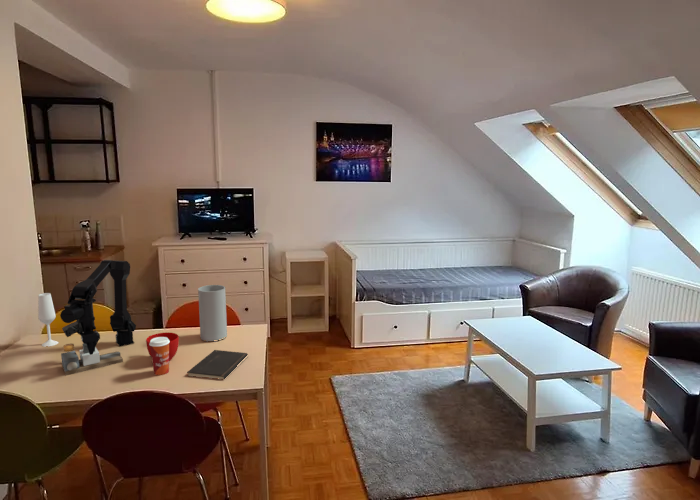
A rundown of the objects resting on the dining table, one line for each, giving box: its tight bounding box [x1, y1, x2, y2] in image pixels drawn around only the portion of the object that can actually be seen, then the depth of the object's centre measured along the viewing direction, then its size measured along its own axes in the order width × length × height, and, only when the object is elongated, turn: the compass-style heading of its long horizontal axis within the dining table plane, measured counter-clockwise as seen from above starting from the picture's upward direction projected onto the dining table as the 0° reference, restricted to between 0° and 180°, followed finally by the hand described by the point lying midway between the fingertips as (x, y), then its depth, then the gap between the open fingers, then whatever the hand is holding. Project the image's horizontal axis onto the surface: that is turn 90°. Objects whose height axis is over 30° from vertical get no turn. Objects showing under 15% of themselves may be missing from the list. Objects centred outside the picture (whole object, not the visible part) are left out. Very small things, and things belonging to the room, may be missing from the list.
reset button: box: [62, 343, 75, 353], centre depth 185 cm, size 4×4×2 cm
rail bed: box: [60, 350, 124, 376], centre depth 191 cm, size 21×10×6 cm, turn 129°
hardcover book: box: [186, 349, 249, 380], centre depth 192 cm, size 16×23×2 cm
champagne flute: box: [37, 292, 59, 348], centre depth 211 cm, size 7×7×24 cm
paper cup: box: [149, 337, 170, 376], centre depth 184 cm, size 8×8×14 cm
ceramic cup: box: [145, 332, 180, 362], centre depth 198 cm, size 13×17×10 cm
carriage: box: [78, 342, 100, 366], centre depth 190 cm, size 6×8×8 cm
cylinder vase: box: [197, 284, 228, 342], centre depth 221 cm, size 12×12×25 cm
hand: (89, 350), depth 190 cm, fingers open, 9 cm apart
